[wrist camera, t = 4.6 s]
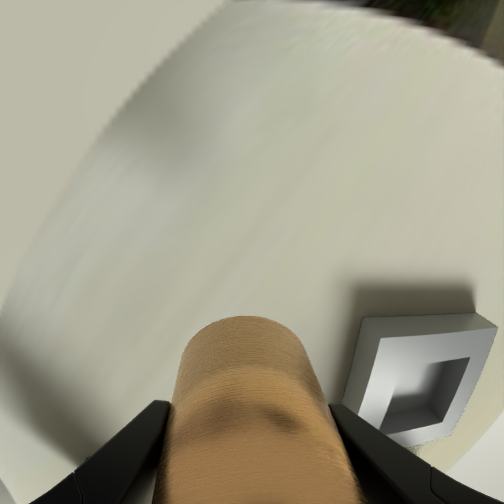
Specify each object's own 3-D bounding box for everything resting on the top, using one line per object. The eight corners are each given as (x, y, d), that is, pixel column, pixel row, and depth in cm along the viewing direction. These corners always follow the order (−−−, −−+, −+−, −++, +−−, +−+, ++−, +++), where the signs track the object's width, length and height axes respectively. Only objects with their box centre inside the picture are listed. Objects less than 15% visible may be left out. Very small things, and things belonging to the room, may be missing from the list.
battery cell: (182, 415, 10) (157, 636, 2) (178, 311, 9) (98, 611, 1) (298, 417, 10) (356, 626, 2) (317, 317, 9) (457, 575, 1)
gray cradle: (331, 434, 23) (341, 459, 20) (362, 317, 20) (380, 337, 18) (436, 416, 24) (450, 435, 21) (476, 312, 21) (498, 327, 18)
